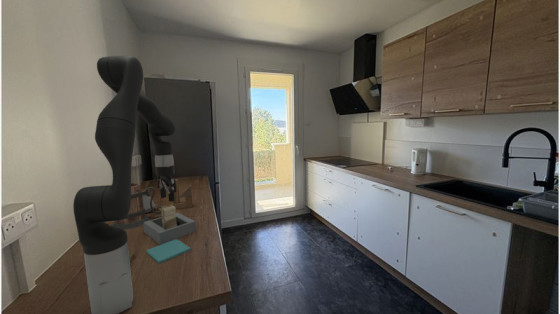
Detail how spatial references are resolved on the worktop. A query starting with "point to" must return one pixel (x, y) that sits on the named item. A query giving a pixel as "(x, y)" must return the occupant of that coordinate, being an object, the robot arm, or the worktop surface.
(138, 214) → the tankard
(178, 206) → the wooden block
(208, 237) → the worktop surface
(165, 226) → the birch block
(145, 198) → the coffee pot
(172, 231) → the open gray rectangular frame
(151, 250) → the mat
